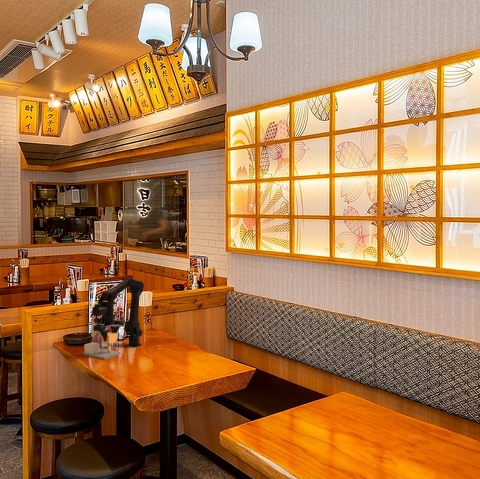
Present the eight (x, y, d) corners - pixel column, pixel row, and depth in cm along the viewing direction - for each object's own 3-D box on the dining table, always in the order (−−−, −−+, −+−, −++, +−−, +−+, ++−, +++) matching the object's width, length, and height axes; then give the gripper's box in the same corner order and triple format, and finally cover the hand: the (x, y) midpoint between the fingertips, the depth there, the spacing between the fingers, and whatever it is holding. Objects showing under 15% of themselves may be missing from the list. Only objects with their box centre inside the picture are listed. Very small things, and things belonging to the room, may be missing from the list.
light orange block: (116, 341, 286) (116, 333, 286) (109, 343, 281) (109, 335, 281) (109, 339, 289) (109, 332, 289) (101, 342, 284) (101, 334, 284)
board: (98, 349, 295) (98, 340, 295) (120, 354, 287) (119, 344, 286) (83, 355, 285) (83, 345, 285) (104, 359, 277) (104, 349, 276)
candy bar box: (91, 344, 307) (90, 318, 306) (98, 343, 310) (98, 317, 309) (101, 348, 299) (100, 321, 298) (108, 346, 303) (108, 319, 302)
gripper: (110, 308, 296) (110, 334, 297) (86, 314, 280) (86, 342, 281) (124, 310, 291) (124, 337, 292) (100, 316, 275) (100, 344, 276)
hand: (109, 340), depth 285 cm, fingers closed on light orange block, 6 cm apart
